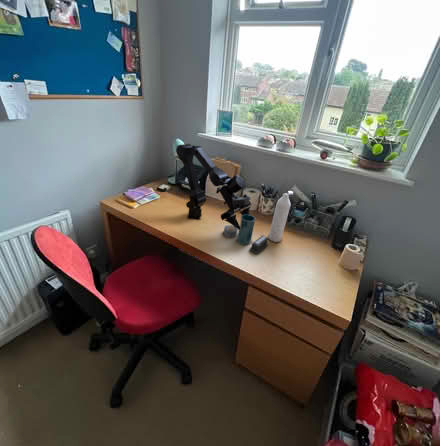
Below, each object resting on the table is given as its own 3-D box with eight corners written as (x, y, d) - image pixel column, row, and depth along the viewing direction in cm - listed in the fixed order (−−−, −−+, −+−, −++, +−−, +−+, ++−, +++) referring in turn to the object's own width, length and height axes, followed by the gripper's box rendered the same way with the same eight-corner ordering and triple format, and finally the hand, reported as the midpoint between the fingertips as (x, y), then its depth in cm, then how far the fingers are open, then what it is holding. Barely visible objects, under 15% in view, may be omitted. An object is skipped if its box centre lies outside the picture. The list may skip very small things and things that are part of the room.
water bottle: (276, 243, 122) (289, 197, 109) (265, 238, 125) (276, 192, 113) (285, 237, 128) (298, 193, 115) (274, 232, 131) (286, 189, 118)
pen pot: (235, 242, 119) (239, 219, 113) (239, 235, 125) (243, 213, 118) (248, 245, 118) (253, 222, 111) (252, 239, 123) (256, 216, 117)
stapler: (256, 254, 113) (258, 246, 110) (249, 250, 114) (251, 243, 112) (267, 245, 120) (269, 237, 118) (260, 242, 122) (262, 234, 120)
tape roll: (223, 236, 123) (224, 231, 121) (223, 229, 128) (224, 224, 126) (236, 238, 123) (237, 232, 121) (236, 231, 128) (237, 225, 127)
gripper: (228, 195, 105) (246, 226, 105) (251, 185, 118) (266, 213, 118) (213, 205, 113) (229, 234, 113) (236, 194, 126) (250, 221, 126)
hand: (244, 225), depth 118 cm, fingers open, 9 cm apart
